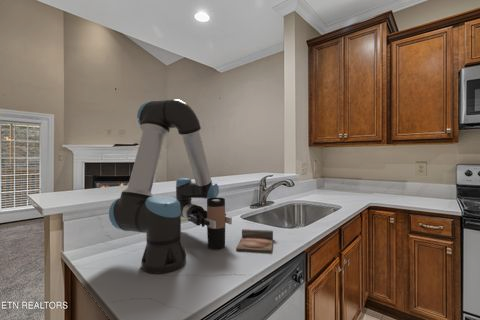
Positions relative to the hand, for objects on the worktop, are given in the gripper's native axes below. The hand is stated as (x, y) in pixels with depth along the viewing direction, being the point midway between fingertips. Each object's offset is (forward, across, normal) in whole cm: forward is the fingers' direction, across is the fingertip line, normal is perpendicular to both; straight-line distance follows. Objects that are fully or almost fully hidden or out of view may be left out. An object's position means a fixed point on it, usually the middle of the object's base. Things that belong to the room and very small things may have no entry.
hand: (223, 222), depth 96 cm
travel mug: (-5, 0, -11) cm, 12 cm away
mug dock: (+5, -13, -11) cm, 18 cm away
